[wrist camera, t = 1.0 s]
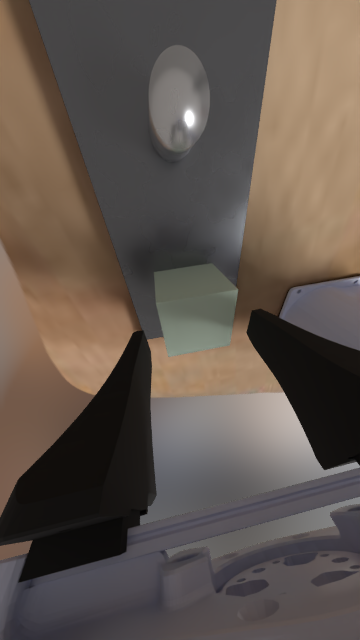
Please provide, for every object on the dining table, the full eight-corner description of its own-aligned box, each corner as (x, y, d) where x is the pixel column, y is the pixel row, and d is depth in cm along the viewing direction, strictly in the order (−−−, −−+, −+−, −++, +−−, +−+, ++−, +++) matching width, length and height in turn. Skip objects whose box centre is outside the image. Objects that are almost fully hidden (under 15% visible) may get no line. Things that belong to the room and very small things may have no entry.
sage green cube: (212, 263, 13) (238, 289, 9) (210, 310, 16) (229, 345, 12) (153, 272, 13) (155, 303, 9) (163, 318, 16) (168, 357, 12)
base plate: (269, -56, 6) (395, -321, 3) (226, 318, 19) (242, 342, 16) (20, -48, 6) (-145, -367, 3) (145, 332, 18) (144, 361, 15)
